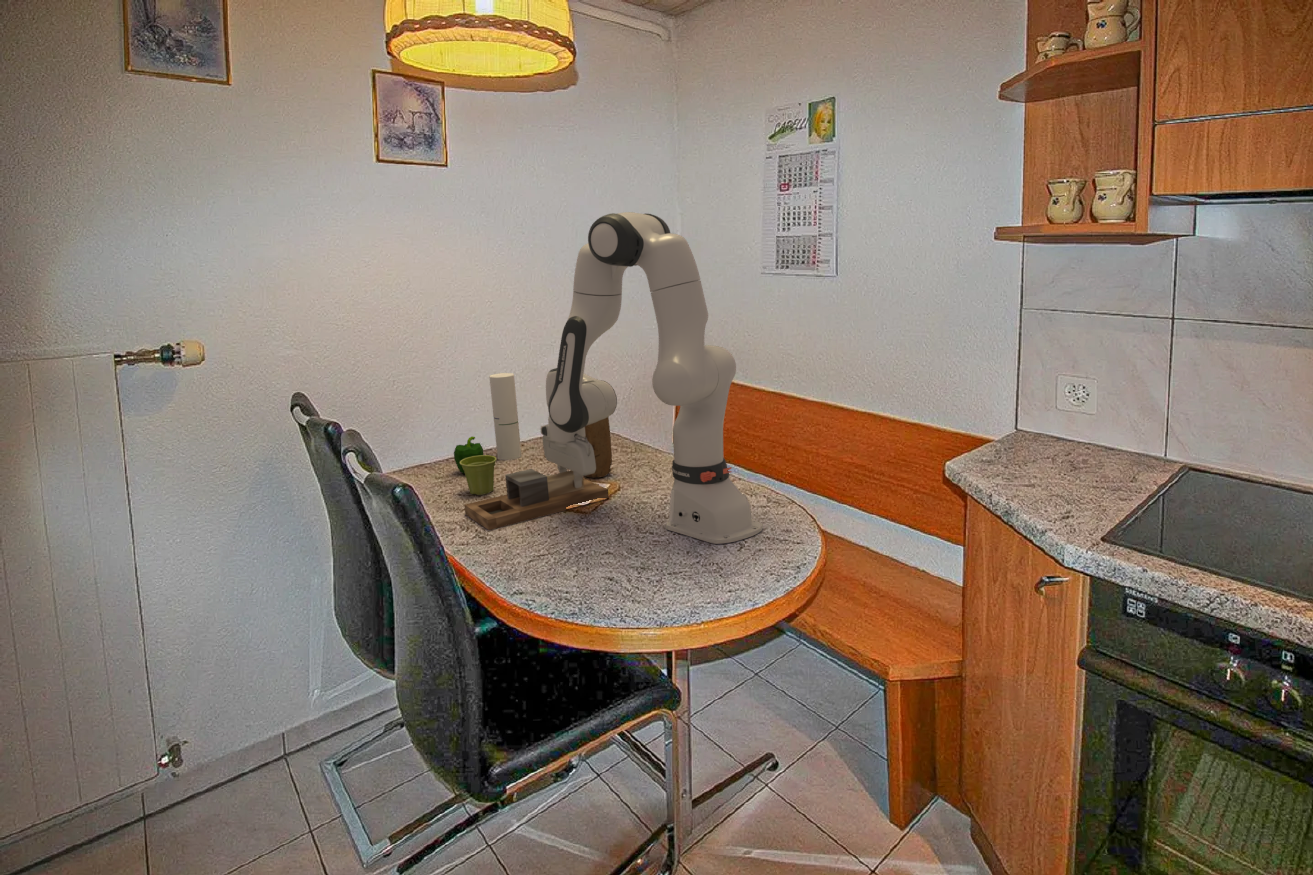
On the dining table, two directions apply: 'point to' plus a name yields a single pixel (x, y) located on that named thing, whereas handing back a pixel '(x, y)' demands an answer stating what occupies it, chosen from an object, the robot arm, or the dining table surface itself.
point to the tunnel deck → (528, 500)
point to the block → (600, 446)
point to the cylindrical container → (505, 416)
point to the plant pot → (479, 473)
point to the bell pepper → (467, 452)
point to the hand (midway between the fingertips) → (571, 484)
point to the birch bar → (561, 483)
